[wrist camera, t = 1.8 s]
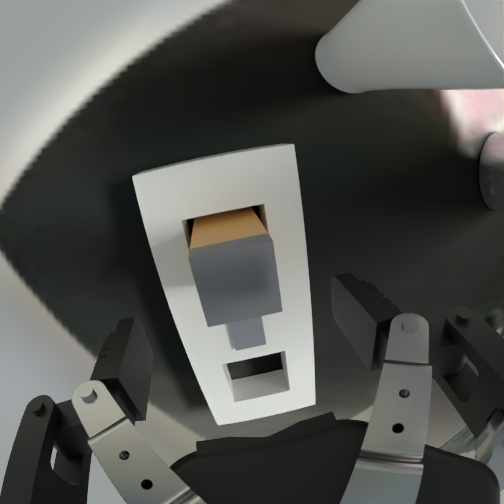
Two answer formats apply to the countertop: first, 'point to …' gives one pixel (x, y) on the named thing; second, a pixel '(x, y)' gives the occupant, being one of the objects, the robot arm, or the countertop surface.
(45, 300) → the countertop surface
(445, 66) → the drinking glass
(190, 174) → the pdu strip
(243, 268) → the plug
